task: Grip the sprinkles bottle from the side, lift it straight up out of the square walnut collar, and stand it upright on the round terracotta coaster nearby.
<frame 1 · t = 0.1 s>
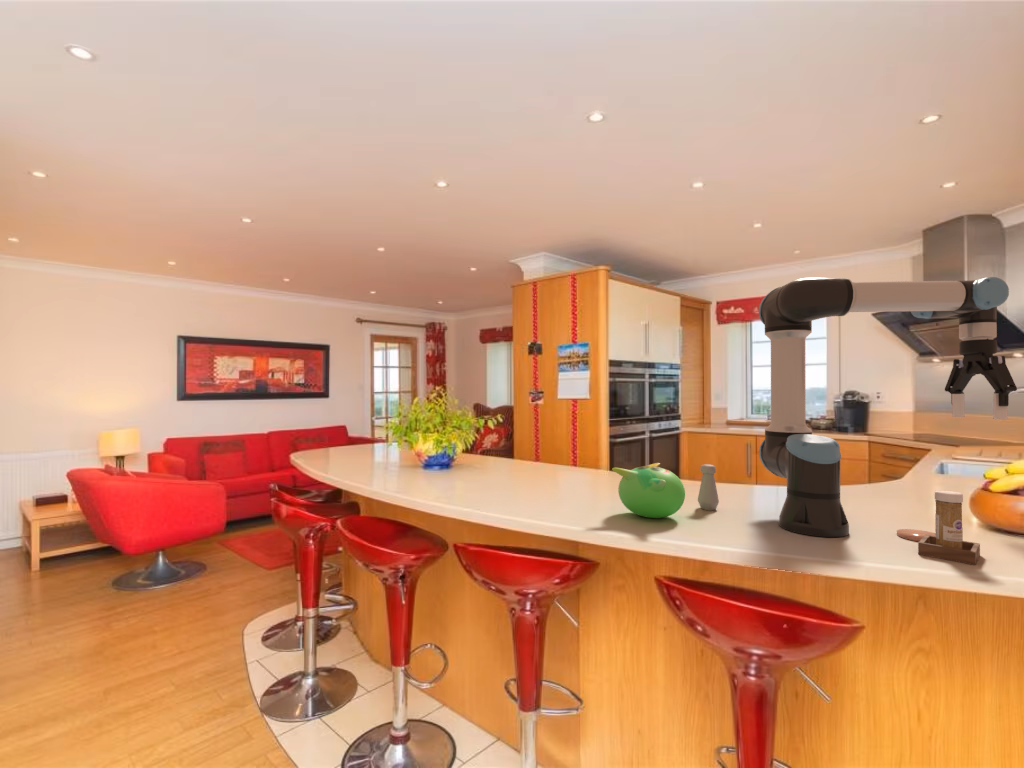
hand: (978, 418, 136), 28 cm above the table, tool pointing down, fingers open, 13 cm apart
green cartoon creature figurine: (650, 517, 138), on the table
salt shaker: (708, 509, 148), on the table
sprinkles bottle: (949, 555, 107), resting in walnut collar
walnut collar: (949, 554, 107), on the table
terracotta coaster: (920, 537, 120), on the table
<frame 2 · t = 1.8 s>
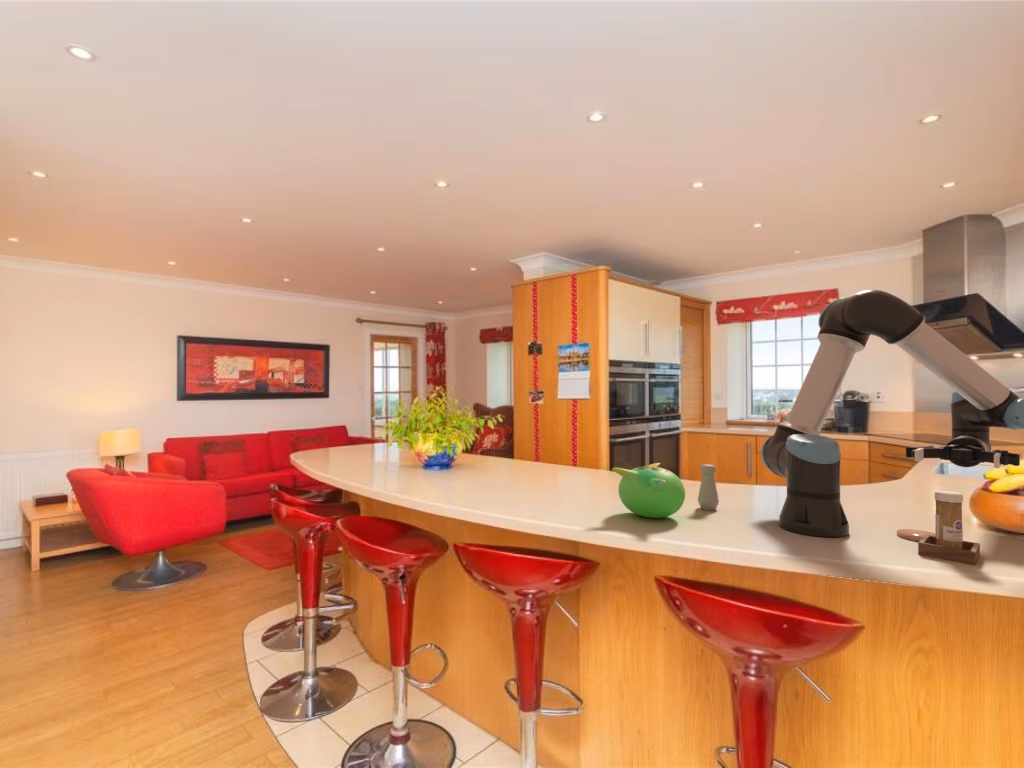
hand: (954, 458, 114), 20 cm above the table, tool horizontal, fingers open, 13 cm apart
nothing on the table moved.
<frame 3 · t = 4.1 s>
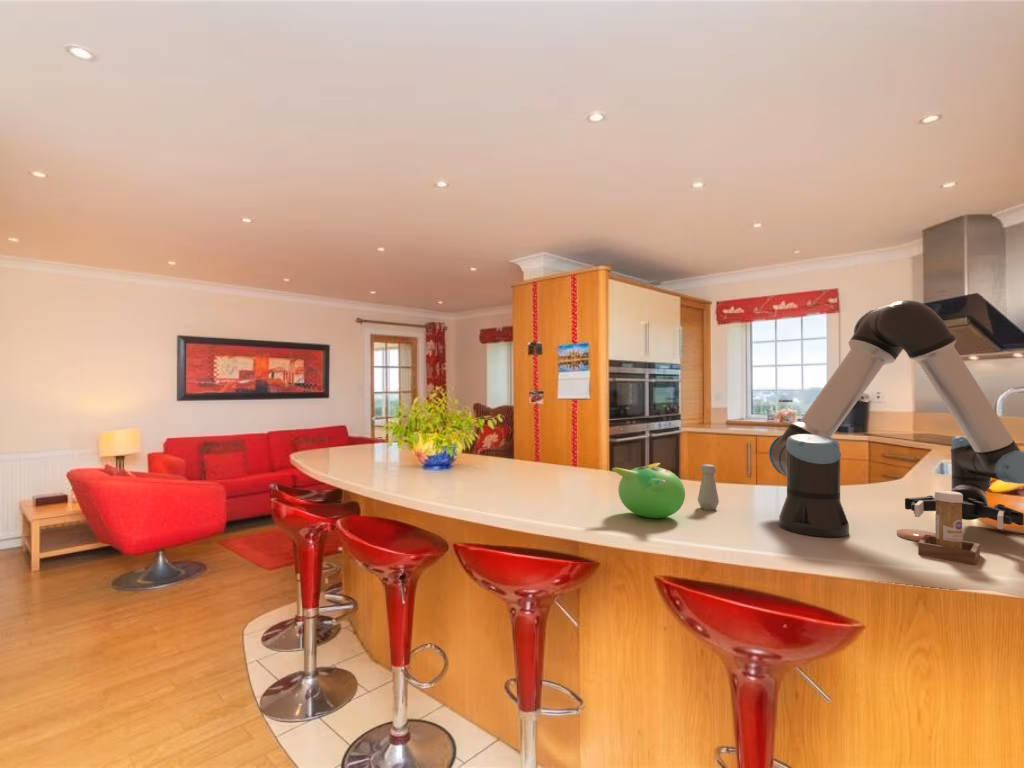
hand: (956, 516, 109), 8 cm above the table, tool horizontal, fingers open, 13 cm apart
nothing on the table moved.
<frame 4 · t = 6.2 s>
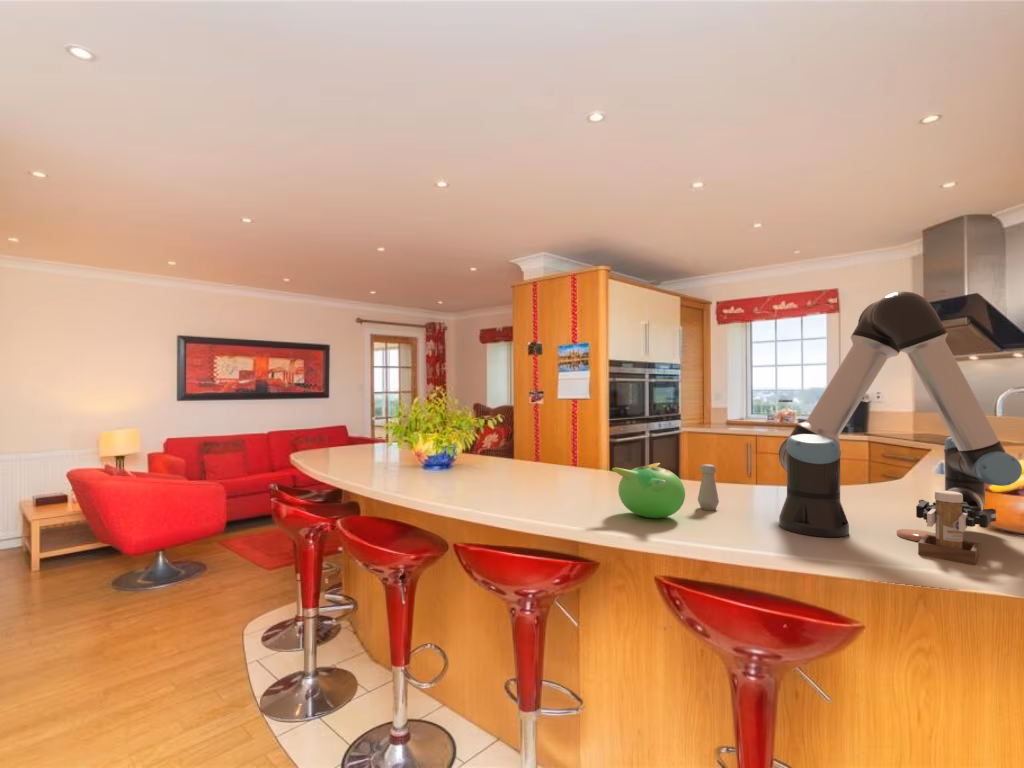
hand: (945, 522, 103), 8 cm above the table, tool horizontal, fingers closed on sprinkles bottle, 4 cm apart
sprinkles bottle: (949, 555, 107), resting in walnut collar, touching gripper
everything else where it was.
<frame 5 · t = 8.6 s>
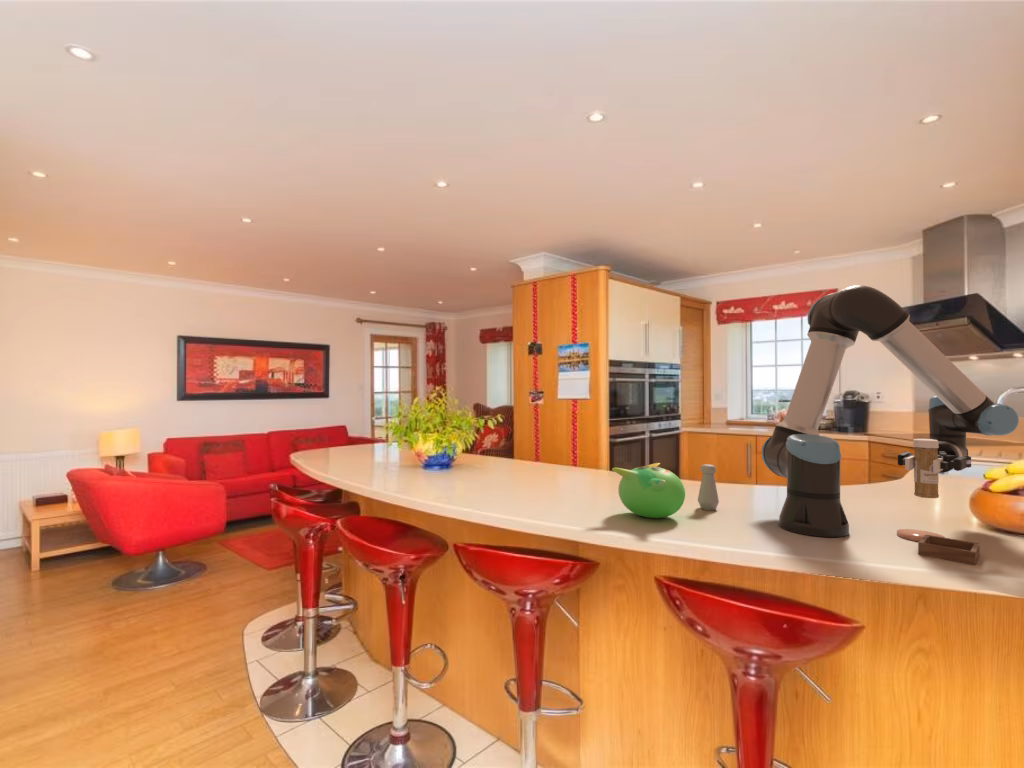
hand: (920, 465, 114), 18 cm above the table, tool horizontal, fingers closed on sprinkles bottle, 4 cm apart
sprinkles bottle: (926, 497, 117), point 10 cm above the table, touching gripper
everything else where it was.
when the fingers open (10 cm above the table, at t = 11.1 s): sprinkles bottle drops 1 cm, resting on terracotta coaster.
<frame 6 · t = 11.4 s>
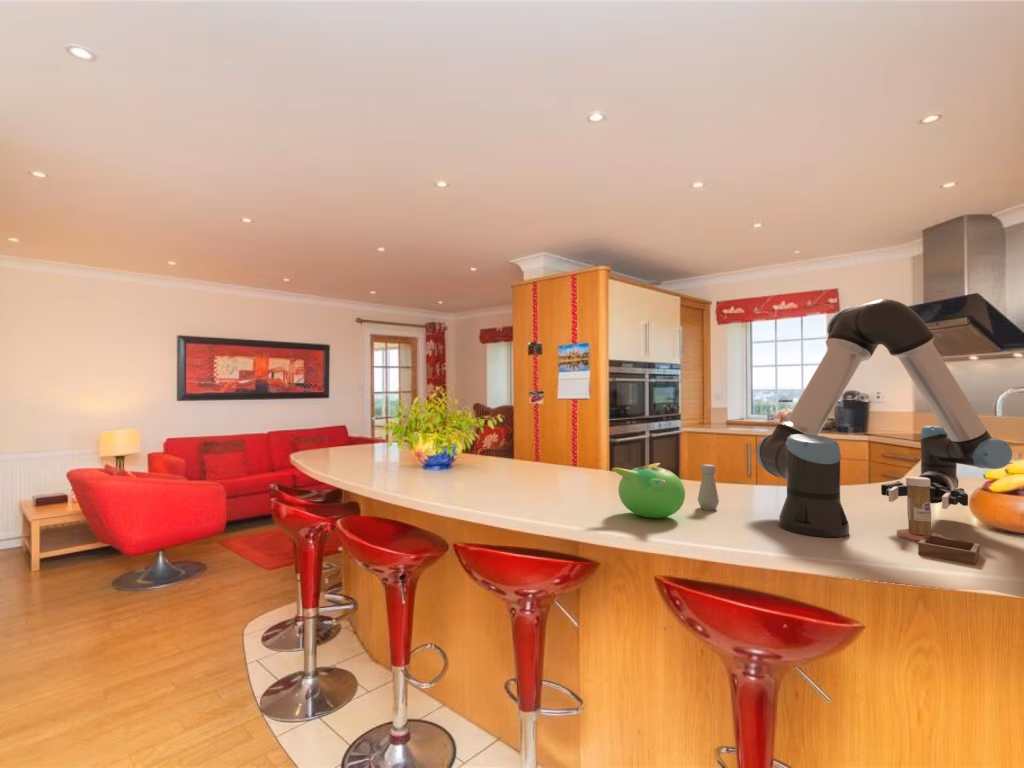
hand: (916, 499, 117), 10 cm above the table, tool horizontal, fingers open, 9 cm apart
sprinkles bottle: (920, 534, 120), point 1 cm above the table, touching terracotta coaster
everything else where it was.
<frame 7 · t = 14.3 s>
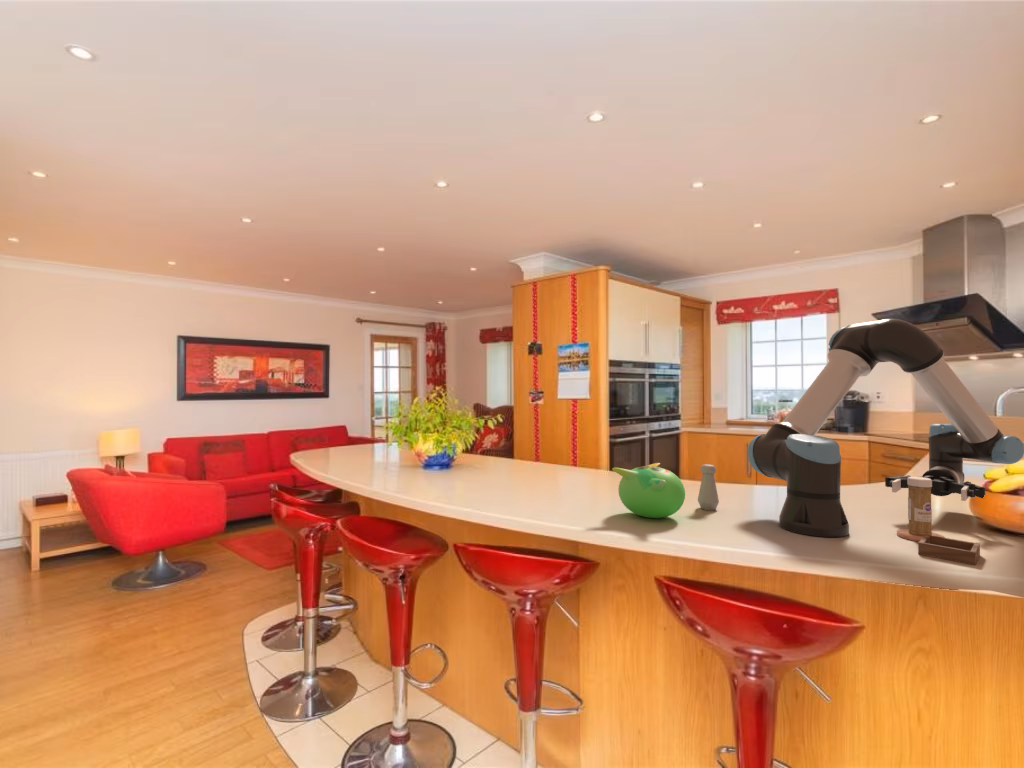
hand: (927, 491, 126), 10 cm above the table, tool horizontal, fingers open, 13 cm apart
nothing on the table moved.
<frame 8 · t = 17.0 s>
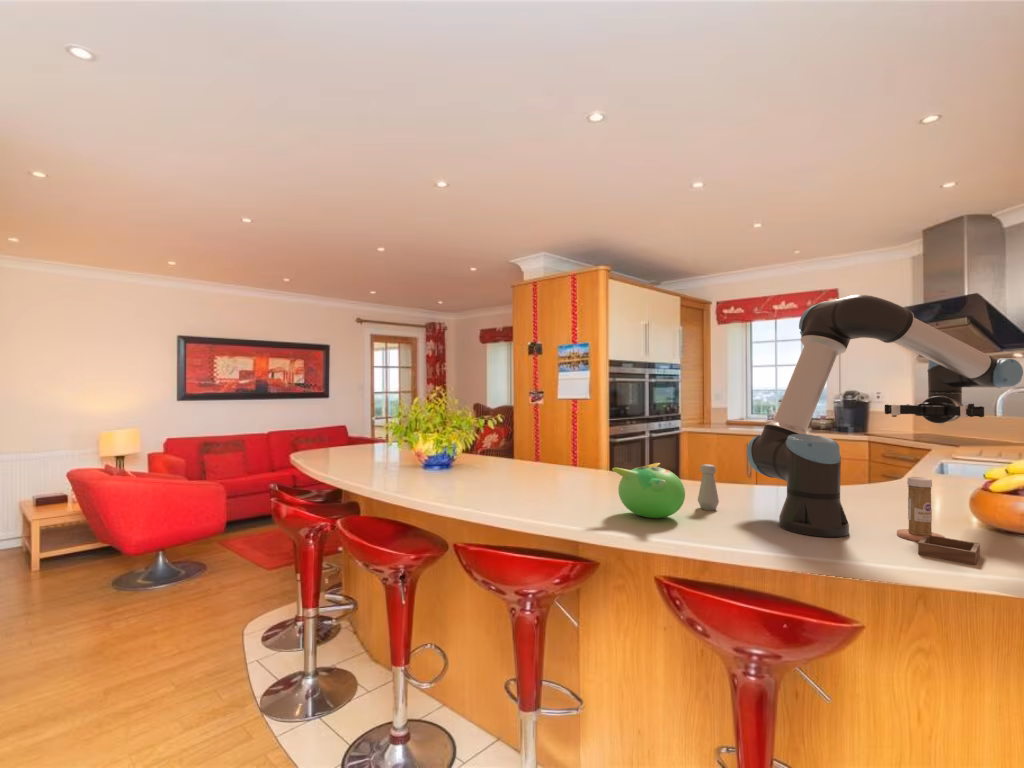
hand: (926, 411, 127), 30 cm above the table, tool horizontal, fingers open, 13 cm apart
nothing on the table moved.
at the end: sprinkles bottle 0.1 cm off-centre on the terracotta coaster, point 0.6 cm above the terracotta coaster's base; sprinkles bottle tilted 0°; the gripper is holding nothing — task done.
